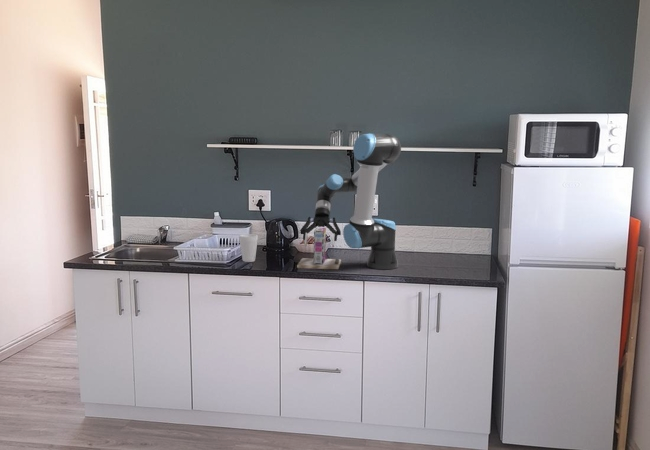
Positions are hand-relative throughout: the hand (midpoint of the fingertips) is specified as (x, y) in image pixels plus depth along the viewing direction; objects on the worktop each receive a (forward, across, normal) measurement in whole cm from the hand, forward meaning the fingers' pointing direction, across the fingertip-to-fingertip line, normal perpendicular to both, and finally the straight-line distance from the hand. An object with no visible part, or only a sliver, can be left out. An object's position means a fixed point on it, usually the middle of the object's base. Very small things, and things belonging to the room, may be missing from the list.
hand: (319, 245), depth 265 cm
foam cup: (+2, +37, -12) cm, 39 cm away
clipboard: (+5, 0, -9) cm, 10 cm away
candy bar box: (+5, 0, -8) cm, 9 cm away
